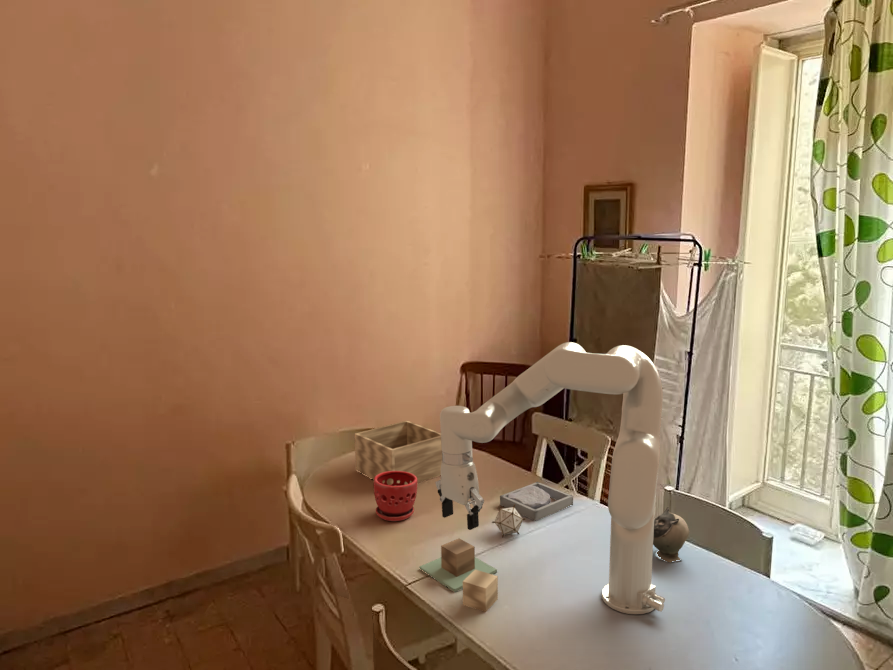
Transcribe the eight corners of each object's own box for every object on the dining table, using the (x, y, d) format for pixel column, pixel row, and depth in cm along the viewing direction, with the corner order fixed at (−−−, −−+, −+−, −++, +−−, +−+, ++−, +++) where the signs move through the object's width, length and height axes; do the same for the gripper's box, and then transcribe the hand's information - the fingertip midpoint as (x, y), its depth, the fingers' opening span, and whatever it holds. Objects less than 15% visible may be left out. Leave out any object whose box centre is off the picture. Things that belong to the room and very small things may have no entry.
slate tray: (573, 505, 208) (573, 495, 207) (535, 521, 197) (535, 511, 196) (537, 490, 219) (537, 481, 218) (499, 504, 208) (499, 495, 208)
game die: (513, 548, 189) (523, 531, 182) (485, 536, 190) (494, 518, 183) (522, 522, 195) (531, 505, 188) (495, 510, 196) (503, 492, 189)
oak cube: (497, 599, 157) (497, 576, 156) (485, 612, 152) (485, 588, 151) (475, 592, 160) (475, 569, 159) (462, 605, 155) (462, 581, 154)
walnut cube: (474, 568, 169) (474, 546, 168) (456, 576, 166) (456, 554, 164) (459, 559, 174) (459, 538, 173) (441, 567, 170) (441, 545, 169)
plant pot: (392, 529, 193) (391, 489, 191) (366, 514, 203) (364, 477, 201) (426, 515, 202) (426, 477, 200) (400, 502, 212) (399, 466, 209)
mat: (496, 572, 169) (496, 569, 169) (454, 592, 160) (454, 589, 160) (460, 551, 180) (460, 548, 179) (419, 569, 171) (419, 566, 171)
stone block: (553, 508, 210) (530, 493, 217) (555, 495, 208) (532, 480, 215) (527, 521, 202) (504, 505, 209) (529, 508, 201) (506, 492, 207)
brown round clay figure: (639, 551, 179) (666, 568, 170) (640, 509, 177) (667, 524, 168) (668, 543, 183) (696, 560, 173) (669, 502, 181) (698, 516, 172)
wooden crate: (446, 473, 235) (446, 435, 232) (392, 490, 220) (391, 450, 218) (408, 456, 252) (407, 420, 250) (355, 471, 238) (354, 433, 235)
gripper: (492, 461, 160) (494, 528, 163) (446, 445, 173) (449, 507, 176) (468, 469, 156) (471, 538, 158) (423, 452, 169) (427, 515, 172)
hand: (460, 521), depth 167 cm, fingers open, 9 cm apart
